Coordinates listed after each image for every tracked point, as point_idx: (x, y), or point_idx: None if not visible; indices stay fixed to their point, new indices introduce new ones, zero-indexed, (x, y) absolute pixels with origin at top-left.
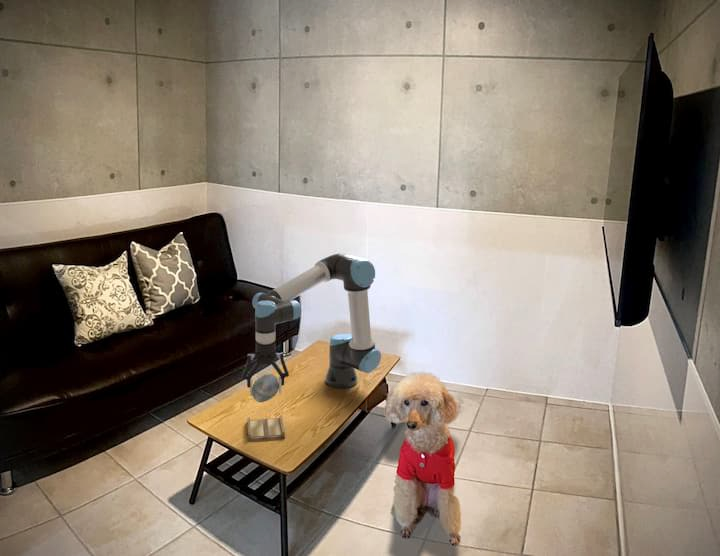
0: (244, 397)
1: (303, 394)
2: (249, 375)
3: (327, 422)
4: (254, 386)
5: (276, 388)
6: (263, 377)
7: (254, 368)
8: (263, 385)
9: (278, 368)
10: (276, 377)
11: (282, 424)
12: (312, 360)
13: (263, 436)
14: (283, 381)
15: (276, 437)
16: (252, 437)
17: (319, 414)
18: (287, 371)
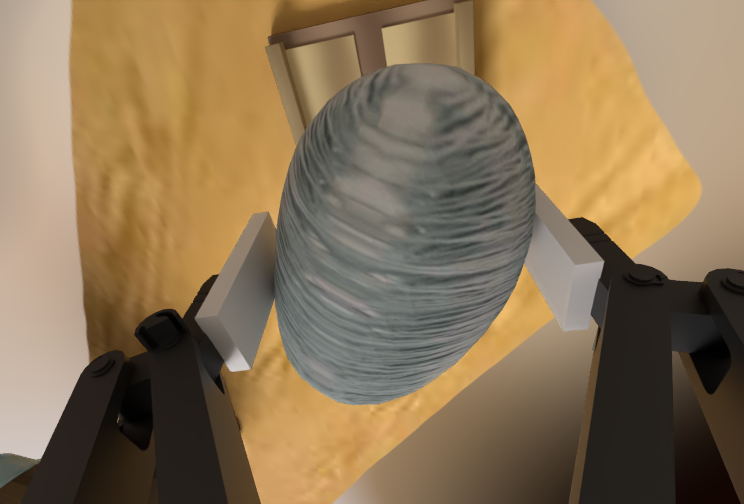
0: (480, 347)
1: (284, 367)
2: (668, 322)
3: (123, 200)
4: (528, 184)
5: (276, 231)
6: (422, 335)
7: (656, 464)
8: (407, 155)
9: (157, 475)
10: (296, 367)
11: (298, 136)
12: (303, 490)
13: (384, 27)
14: (197, 306)
15: (312, 26)
16: (445, 11)
17: (183, 258)
18: (61, 422)
